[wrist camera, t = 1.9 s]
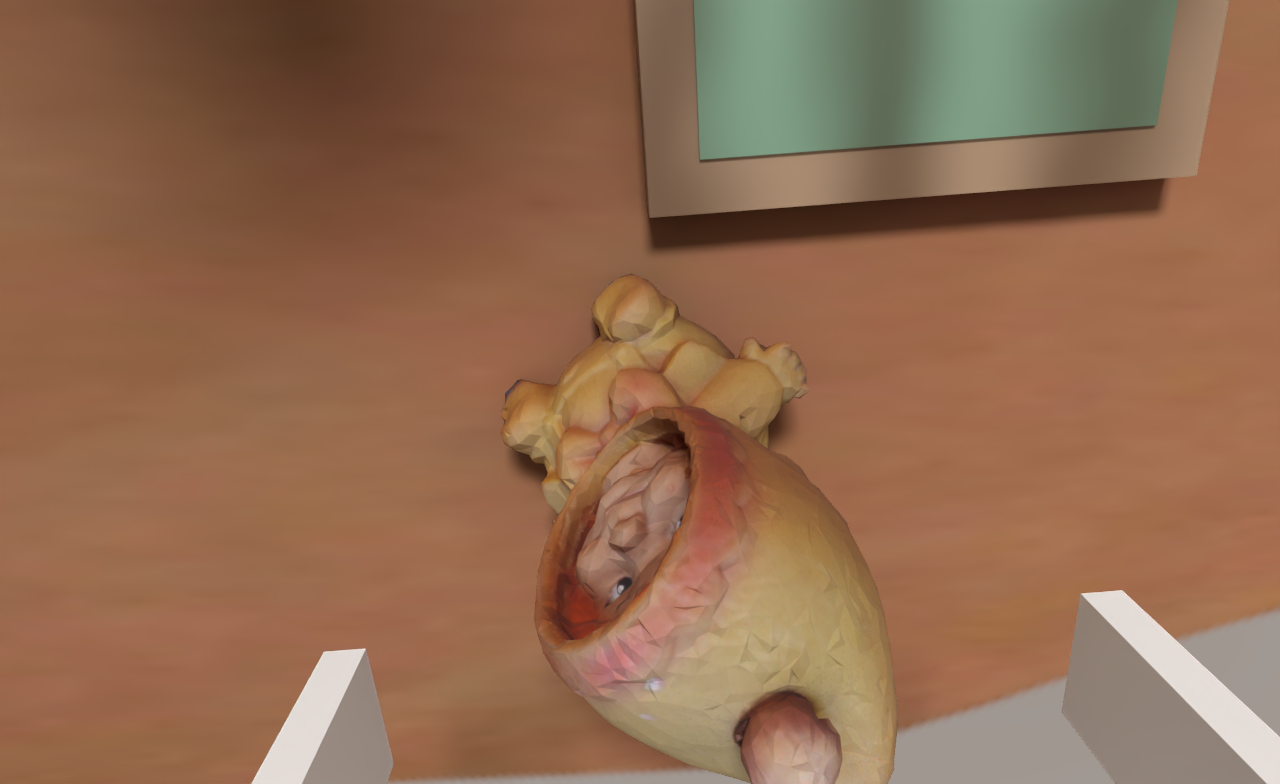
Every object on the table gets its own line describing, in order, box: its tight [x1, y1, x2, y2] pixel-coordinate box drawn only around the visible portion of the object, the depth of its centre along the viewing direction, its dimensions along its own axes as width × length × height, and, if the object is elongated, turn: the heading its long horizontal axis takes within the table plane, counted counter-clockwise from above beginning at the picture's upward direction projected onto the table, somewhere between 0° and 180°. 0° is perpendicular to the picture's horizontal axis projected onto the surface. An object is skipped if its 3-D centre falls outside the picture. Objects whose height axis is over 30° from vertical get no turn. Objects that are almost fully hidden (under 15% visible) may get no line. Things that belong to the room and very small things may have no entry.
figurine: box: [501, 274, 898, 784], centre depth 19 cm, size 10×8×15 cm
